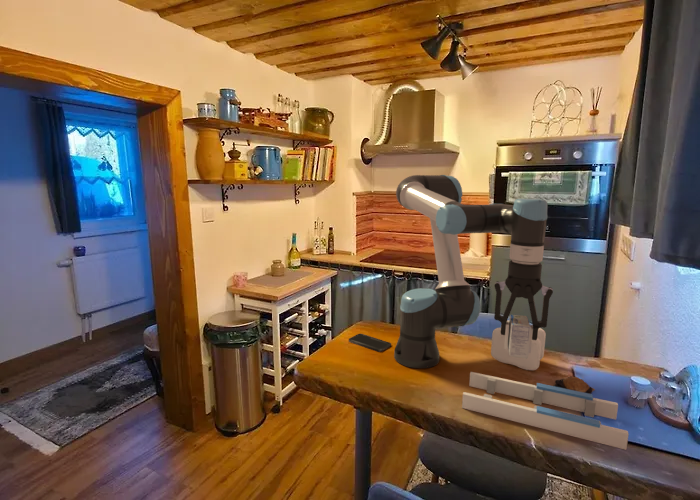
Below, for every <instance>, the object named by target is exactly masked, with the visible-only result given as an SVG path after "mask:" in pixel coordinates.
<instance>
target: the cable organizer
mask: <svg viewBox="0 0 700 500" xmlns="http://www.w3.org/2000/svg"><path fill="white" fill-rule="evenodd" d="M507 321H508V322H509V319H507ZM546 334H547V333H546V331H545V330H544V329H543V328H542V327H541V328H539V329H538V335H537V340H532V344H531V353H528V358H527V359H526V358H519V357H513V356H509V349H508V346H507V349H505V348H504V342H505V335H501V327H496V328H494V329H493V331H492V334H491V345H490V346H491V348H490V355H491V357H492V358H493V359H495V360H496V361H498V362H499V363H503V364H509V365H512V366H514V367H515V366H516V367H518V368H520V369H523V370H525V371H536V370H538V369H539V367H540V363H541V360H542V359H543V358H544V356H545V348H546V347H545V346H546V336H547V335H546Z"/></svg>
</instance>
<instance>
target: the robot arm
mask: <svg viewBox="0 0 700 500" xmlns="http://www.w3.org/2000/svg"><path fill="white" fill-rule="evenodd" d="M395 195H396V200H397V202H398V204H399V205H401V206H402V207H403V208H405V209H407V210H410V211H412V210H415V211H417V212H419V213H420V214H421V215H424V216H425V217H427V218H429V222H430V227H431V235H432V236H431V237H432V241H433V249H434V256H435V263H436V270H437V271H436V272H437V278H438V285H437V286H436V287H435V288H434V289H432V288H423V287H422V288H420V287H419V288H414V289H409V290H408V291H406V292H405V293H403V294H402V296H401V298H400V299H401V300H400V306H399V308H400V317H399V319H400V323H399V328H400V329H399V336H398V340H397V343H396V344H395V348H394V350H393V351H394V354H393V358H394V359H395V361H396V362H397V363H398V364H399V365H402V366H405V367H408V368H414V369H428V368H432V367H435V366H437V365H438V364H439V362H440V351H439V346H438V344H437V340H436V329H442V328H443V329H444V328H455V327H464V326H469V325H472V324H474V323H476V321H477V320H478V317H479V316H480V312H481V299H480V297H479V295H478V293H477V292H476V291H474V290H472V289H471V285H470V284H469V283H468V282H467V281H466V280H465V277H464V269H463V261H462V257H461V256H462V255H461V249H460V243H459V236H458V235H461V234H462V235H463V234H464V235H465V234H468V235H469V234H489V233H496V234H497V233H502V234H508V235H511V237H510V246H509V259H510V260H509V262H508V270H507V276H506V277H507V278H506V279H505V280H504V281H496V282H495V283H494V289H495V293H496V295H495V305H494V314H493V315H494V316H493V317H494V321H498V322H499V323H500V328H501V335H505V342H504V348H505V349H507V346H508V336H509V325H510V322H508V321H509V318H510V315H511V312H512V309H513V306H514V304H515V301H516V299H517V298H522V299H523V298H524V299H526V300H527V301H528V307H529V312H530V318H531V323H532V324H530V326H531V330H530V341H529V352H528V353H531V344H532V340H537V335H538V329H539V328H541V329H543V328H547V325H548V316H549V308H550V307H549V306H550V298H551V297H552V295H553V292H554V289H553V288H552V287H551V286H550V287H548V286H545V285H543V283H542V281H541V279H542V268H543V264H542V263H541V262H543V258H544V248H545V239H546V229H547V220H548V217H549V216H548V202H547V201H546V200H545V199H541V198H516V199H515V200H514V201H513V205H511V204H504V203H501V202H500V203H490V204H463V203H462V200H463V199H462V197H463V188H462V185H461V183H460V181H459V180H458V178H456V177H455V176H453V175H445V174H439V175H437V174H436V175H434V174H431V175H425V174H422V175H421V174H415V175H410V176H407V177H405V178H404V179H402V180H401V181H400V183H399V184H398V185H397V187H396V191H395ZM505 287H506V288H507V289H508V290H509V292H510V293H511V294H510V296H509V299H508V302H507V305H506V306H505V310H504V312H503V315H502V314H501V310H502V309H501V308H502V296H503V295H502V294H503V291H504V289H505ZM539 291H541V295H542V296H543V299H542V300H543V301H542V309H541V320H539V319H538V314H537V309H536V303H535V298H534V296H536V294H538V292H539ZM507 320H508V321H507Z"/></svg>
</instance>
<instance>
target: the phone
mask: <svg viewBox="0 0 700 500" xmlns="http://www.w3.org/2000/svg"><path fill="white" fill-rule="evenodd" d="M348 343H352V344H354V345H357V346H360V347H363V348H365V349H368V350H372V351H374V352H378V353H382V352H384V351H385V350H387V349H389V348H391V347H392V343H391V342H390V341H386V340H383V339H379V338H376V337H374V336H370V335H368V334H364V333H357V334H355V335H353V336H351V337H350V338H348Z"/></svg>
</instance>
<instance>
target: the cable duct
mask: <svg viewBox="0 0 700 500" xmlns="http://www.w3.org/2000/svg"><path fill="white" fill-rule="evenodd" d="M468 385H469V387H473V388H477V389H481V390H485V391H486V393H484V394H483V395H477V394H476V393H471V392H465V391H463V392H462V404H461V408H462V409H465V410H469V411H472V412H477V413H481V414H485V415H488V416H493V417H496V418H499V419H503V420H508V421H510V422H511V421H513V422H515V423H519V424H523V425H524V424H525V425H527V426H530V427H531V426H532V427H536V428H540V429H543V430H546V431H551V432H555V433H559V434H563V435H567V436H571V437H575V438H577V439H582V440H587V441H590V442H594V443H598V444H603V445H604V446H605V445H606V446H610V447H613V448H617V449H621V450H626V451H627V447H628V442H629V431H628V430H626V429H621V428H617V427H612V426H609V425H605V424H602V422H601V421H600V420H598V419H594V417H595V416H597V417H603V418H607V419H611V420H615V421H617V417H618V409H619V404H618V402H615V401H610V400H605V399H601V398H596V397H594V396H593V394H592V393H591V394H588V393H584V392H579V391H574V390H569V389H565V388H560V387H555V386H553V385H549V384H545V383H542V382H541V383H540V382H536V385H535V384H531V383H526V382H522V381H515V380H511V379H507V378H504V377H503V378H501V377H498V376H492V375H489V374H484V373H483V374H482V373H479V372H475V371H470V373H469V384H468ZM495 393H498V394H503V395H507V396H510V397H511V396H512V397H516V398H520V399H525V400H529V401H532V404H534V406H533V407H529V406H525V405H520V404H516V403H511V402H508V401H503V400H498V399H494V398H493V395H495ZM542 404H547V405H551V406H556V407H558V408H563V409H567V410H568V409H569V410H572V411H577V412H581V413H583V414H584V416H582V415H578V414H574V413H569V412H567V411H566V412H564V411H561V410H557V409H553V408H552V409H551V408H548V407H544V406H542Z"/></svg>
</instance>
